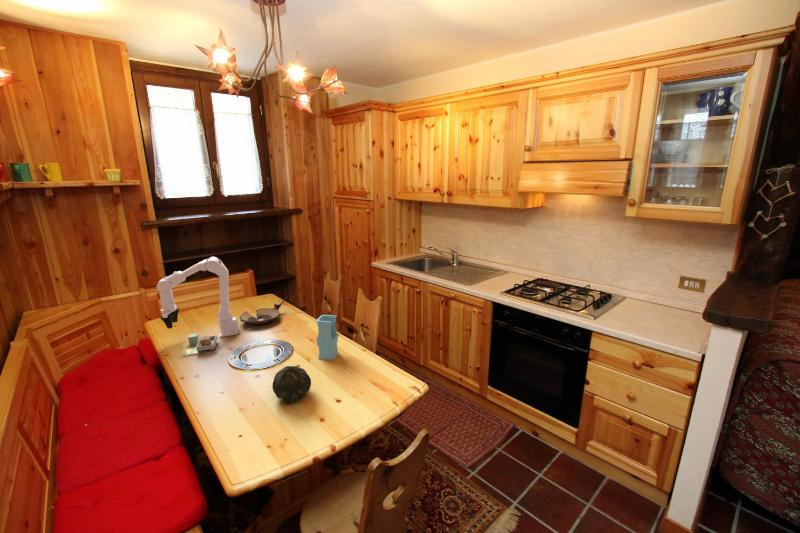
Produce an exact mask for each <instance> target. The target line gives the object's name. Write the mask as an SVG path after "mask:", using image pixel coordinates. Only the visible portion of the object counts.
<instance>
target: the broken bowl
mask: <svg viewBox="0 0 800 533" xmlns="http://www.w3.org/2000/svg"><path fill="white" fill-rule="evenodd" d="M283 303H284V299H282V300H280V301H279V302H277V303H274V304H273V308H271V307H270V308H268V307H267V308H266V307H263V308H261V307H260V308H259V309H256V310H255V312H256V313H255V315H256V317H255V316H253V315H252V314H251V313H249V311H244V312H243V313H241V314H240V315H239V319H240V322H242V323H243V322H244V323H245V324H246V323H248V324H255V325H256V324H257V325H259V324H266V323H269V322H271V321H274V320H276V319H277V318H279V317H280V314H281V311H279V309H280V308H281V306H282V305H283ZM258 319H261V320H258Z"/></svg>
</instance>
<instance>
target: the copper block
mask: <svg viewBox="0 0 800 533" xmlns="http://www.w3.org/2000/svg"><path fill="white" fill-rule="evenodd" d="M210 336H211V335H208V336H202V337H200V338H201V340H200V343H201V346H204V345H210V344H211V338H210Z"/></svg>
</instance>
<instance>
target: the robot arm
mask: <svg viewBox="0 0 800 533" xmlns="http://www.w3.org/2000/svg"><path fill="white" fill-rule="evenodd" d="M199 271H201V272H202V271H203V272H206V271H208V272H211V273H213V274H216V275H217V276H218V277H219V279H218V280H219V308H218V314H217V318H218V323H219V324H218V325H219V330H220V333H219V338H222V337H229V336H237V335H238V334H239V330H240V328H239V321H238V317H236V316H233V315H232V314H231V313H232V308H231V305H230V284H229V283H230V282H229V281H230V280H229V279H230V278H229V272H230V271H229V269H228V268H227V267H226V265H225V264H224V263H223V261H222V260H221V259H220V258H218V257H216V256H210V257H209V258H206V259H203V260H202V261H199V262H198V263H197V262H196V264H193V265H192V266H190V267H189V268H187V269H185V270H183V271H181V270H178V271H173V273H172V274H170V275H168V276H165V277H163V278H161V279H159V281H158V283H157V284H156V289H157V290H158V292H159V297H160V298H159V299H160V303H161V308H162V309H160V312H161V316H160V320H161V321H162V322H163V323H164V325H165V327H166V328H167V329H173V325H174V324H173V323H178V319H179V318H178V317H179V311H180V308H179V307H178V306H177V304H176V303H175V298H174V295H173V294H174V293H173V289H172V287H176V286H177V285H179V284H182V283H183V282H185V281H186V279H187V277H190V276H192V275H193V274H195V273H197V272H199Z"/></svg>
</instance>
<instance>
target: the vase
mask: <svg viewBox="0 0 800 533" xmlns="http://www.w3.org/2000/svg"><path fill="white" fill-rule="evenodd" d="M336 320H337V315H334V314H333V315H332V314H322V315H320V316H319V317H318V318H317V319H316V325H317V328H318V329H317V330H318V334H317V338H316V344H317V346H318V350H319V351H318V360H326V361H334V360H335V359H336V358H337V356H338V355H339V350H338V341H339V340H338V339H339V333H338V332H337V327H336Z"/></svg>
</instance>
